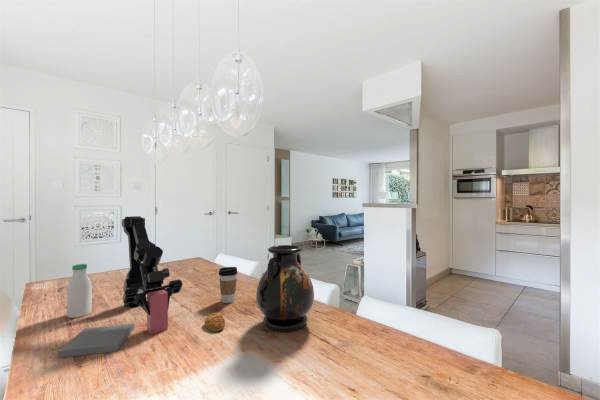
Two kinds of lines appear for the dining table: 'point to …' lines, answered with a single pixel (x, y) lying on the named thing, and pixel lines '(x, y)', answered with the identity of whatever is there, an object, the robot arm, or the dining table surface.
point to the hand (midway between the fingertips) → (158, 312)
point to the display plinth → (97, 340)
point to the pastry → (214, 322)
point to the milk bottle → (79, 292)
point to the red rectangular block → (157, 311)
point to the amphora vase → (285, 290)
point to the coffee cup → (228, 284)
